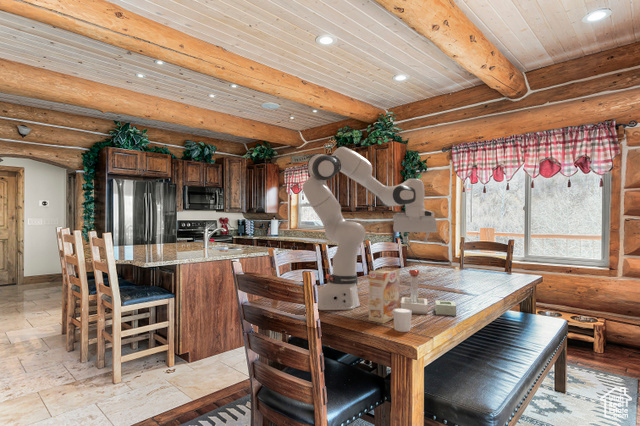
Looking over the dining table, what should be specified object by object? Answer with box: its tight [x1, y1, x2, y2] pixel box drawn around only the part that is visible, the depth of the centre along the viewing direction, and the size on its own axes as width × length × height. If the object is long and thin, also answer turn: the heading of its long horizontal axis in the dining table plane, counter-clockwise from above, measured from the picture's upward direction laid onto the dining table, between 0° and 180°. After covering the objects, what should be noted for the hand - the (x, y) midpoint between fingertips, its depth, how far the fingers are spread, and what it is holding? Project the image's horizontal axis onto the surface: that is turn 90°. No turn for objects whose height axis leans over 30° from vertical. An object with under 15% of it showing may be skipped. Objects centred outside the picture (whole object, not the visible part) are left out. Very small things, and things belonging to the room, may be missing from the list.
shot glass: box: [393, 307, 413, 333], centre depth 130 cm, size 7×7×7 cm
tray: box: [400, 296, 428, 315], centre depth 156 cm, size 11×11×4 cm
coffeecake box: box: [368, 267, 401, 324], centre depth 144 cm, size 15×7×20 cm, turn 143°
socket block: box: [434, 299, 457, 316], centre depth 153 cm, size 8×8×4 cm
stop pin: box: [408, 269, 420, 303], centre depth 156 cm, size 4×4×16 cm
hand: (414, 241), depth 169 cm, fingers open, 8 cm apart
